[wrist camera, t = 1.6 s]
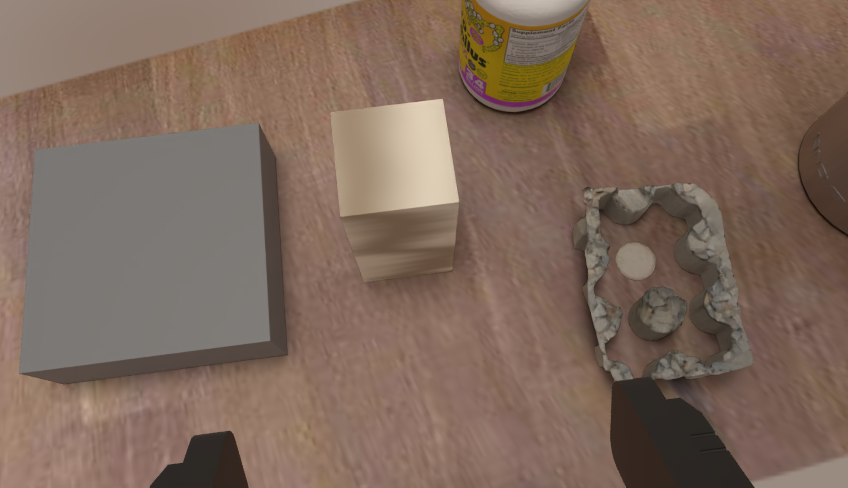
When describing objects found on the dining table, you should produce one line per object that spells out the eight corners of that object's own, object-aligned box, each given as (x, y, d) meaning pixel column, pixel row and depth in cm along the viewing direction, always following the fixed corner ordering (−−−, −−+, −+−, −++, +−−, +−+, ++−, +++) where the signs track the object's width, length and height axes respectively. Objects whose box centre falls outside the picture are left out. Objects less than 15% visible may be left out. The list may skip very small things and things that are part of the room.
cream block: (440, 190, 39) (442, 98, 29) (452, 271, 37) (459, 202, 28) (355, 200, 39) (330, 112, 29) (364, 282, 37) (340, 217, 27)
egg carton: (563, 207, 39) (577, 177, 35) (691, 200, 39) (719, 169, 35) (588, 392, 35) (608, 381, 31) (729, 384, 35) (766, 372, 31)
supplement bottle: (453, 29, 42) (461, -149, 30) (555, 22, 42) (604, -159, 30) (463, 121, 40) (476, -31, 28) (571, 113, 40) (631, -43, 28)
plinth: (275, 156, 39) (258, 122, 36) (287, 354, 36) (270, 340, 32) (73, 180, 39) (35, 149, 35) (63, 384, 35) (18, 373, 31)
